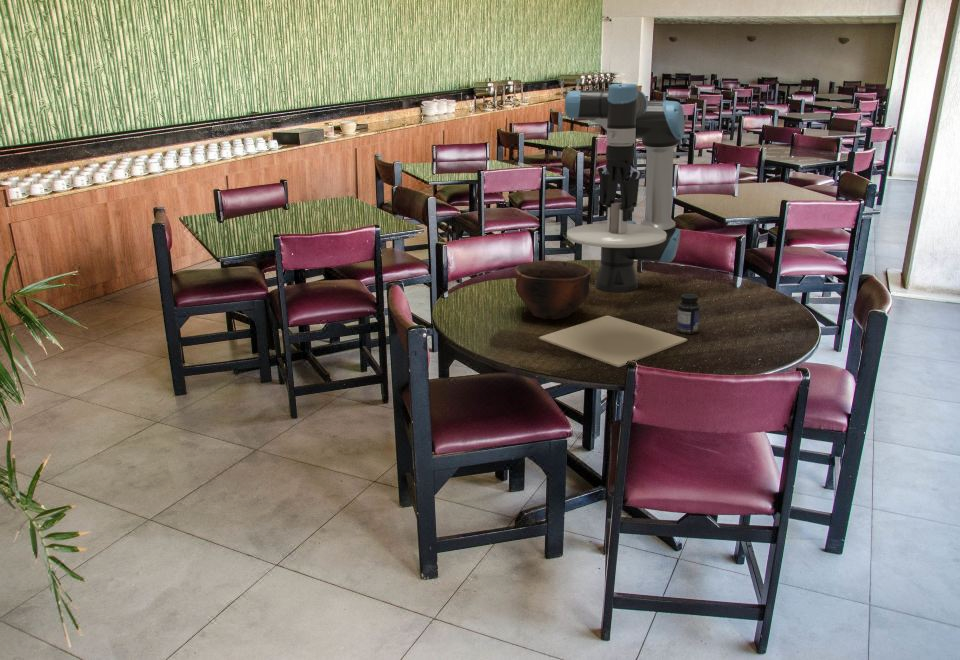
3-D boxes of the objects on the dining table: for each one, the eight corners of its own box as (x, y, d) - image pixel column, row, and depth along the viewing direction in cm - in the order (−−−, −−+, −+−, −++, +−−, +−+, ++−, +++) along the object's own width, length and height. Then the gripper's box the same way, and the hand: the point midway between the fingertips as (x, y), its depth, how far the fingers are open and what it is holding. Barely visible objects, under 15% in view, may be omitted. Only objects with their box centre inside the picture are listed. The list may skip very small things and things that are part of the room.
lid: (546, 237, 212) (547, 203, 209) (609, 223, 229) (610, 192, 226) (623, 252, 193) (625, 216, 190) (686, 236, 209) (688, 203, 206)
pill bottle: (691, 327, 230) (694, 292, 227) (701, 333, 225) (704, 297, 221) (672, 329, 229) (675, 293, 225) (682, 335, 223) (684, 299, 220)
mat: (538, 338, 223) (538, 337, 222) (607, 317, 241) (607, 315, 241) (618, 367, 201) (618, 365, 201) (687, 340, 219) (687, 338, 219)
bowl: (606, 312, 246) (608, 266, 241) (560, 331, 228) (561, 283, 223) (545, 298, 261) (545, 255, 257) (498, 315, 244) (497, 269, 239)
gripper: (587, 143, 206) (585, 229, 214) (636, 147, 194) (631, 238, 202) (606, 141, 211) (603, 225, 219) (654, 145, 199) (649, 234, 207)
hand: (616, 231), depth 210 cm, fingers closed on lid, 3 cm apart
